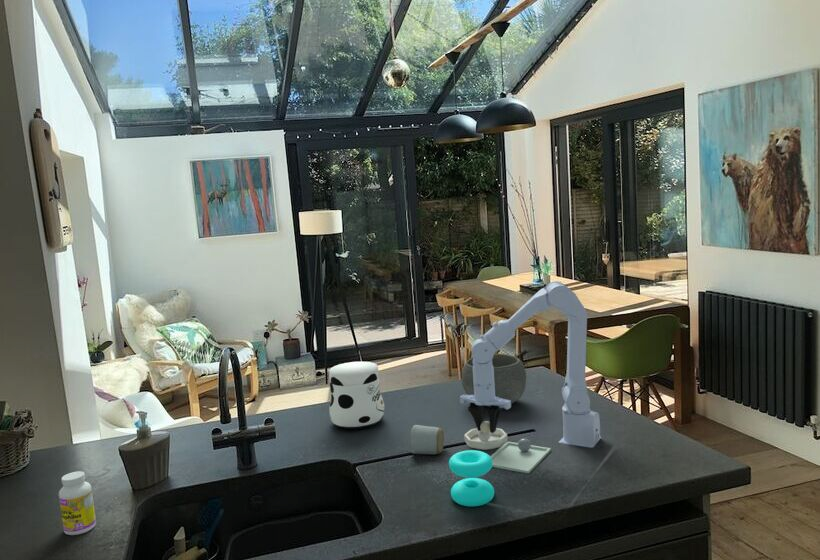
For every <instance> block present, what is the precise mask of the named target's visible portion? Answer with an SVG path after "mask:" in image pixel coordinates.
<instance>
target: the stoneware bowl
mask: <svg viewBox="0 0 820 560" xmlns="http://www.w3.org/2000/svg"><path fill="white" fill-rule="evenodd" d="M478 433H479V431H478V429H477V427H476V428H471V429H470V430H468V431H467V432H466V433H465V434H464V433H463V435H464V436H463V437H464V442H465V443H466V445H467V446H468V447H469V448H473V449H477V450H493V449H496V448H498V449H499V448H501V447H502V446H503V445H504V444H505V443H506V442H509V440H508V434H507V432H505V431H504V429H502V428H499V427H498V428H497V427H496V431H495V432H494V433H491V432H490V439H489V440H488V441H485V442H483V441H481V440H480V439H479V437H478Z"/></svg>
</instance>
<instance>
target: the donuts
mask: <svg viewBox="0 0 820 560" xmlns="http://www.w3.org/2000/svg"><path fill="white" fill-rule="evenodd" d="M490 456H491V455H489V454H488V453H486V452H484V451H481V450H474V449H470V450H469V449H468V450H463V451H459V452H456V453H454V454H453V455H452V456H451V457H450V458H449V459H448V467H449V469H450V471H451V472H452V473H453V474H455V475H457V476H459V477H461V478H462V477H463V478H462V479H461V480H458V481H456V482H455V483H454V484H453V485H452V487H451V488H450V496H451V498H452V500H453V501H454V502H455V503H457V504H458V505H460V506H465V507H480V506H484V505H486V504H488V503H489V502H491V501H492V499H494V497H495V488H494V486H493V485H492V484H491V483H490V482H489V481H487V480H486V479H482V478H479V477H482V476H485V475H486V474H487V473H489V472H490V471H491V469H492V468H493V467H492V465H493V461H492V458H491V457H490Z"/></svg>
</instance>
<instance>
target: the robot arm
mask: <svg viewBox="0 0 820 560" xmlns="http://www.w3.org/2000/svg"><path fill="white" fill-rule="evenodd" d="M550 306H551V308H552V309H555V310H557V311H559V312H562V313H563V315H565V316H566V317H567V344H566V345H567V347H566V350H567V351H566V353H567V354H566V374H565V377H564V384H563V386H562V388H561V393H560V395H561V397H562V399H563V400H564V404H563V405H562V407H561V409H562V428H563V431H562V432H563V437H562V438H561V439H560V440H559V441H558V443H560V444H566V445H573V446H580V447H585V448H590V449H591V448H594V447H595V446H596V445H597V443H598V442H599V441H600V439H602V437H601V420H600V418H601V417H600V414H599V413H598V412H597V411H593V410H591V408H590V407H591V398H590V395H589V394H588V385H587V379H586V367H587V366H586V362H587V361H586V358H587V333H588V332H587V330H588V328H587V326H588V313H587V312H588V311H587V310H586V308H585V307H584V305H583V303H582V302H581V301H580V299H579V297H578V296H577V294H576V293H575V292H574V291H572V289H571V288H570V287H568V286H567V285H565V284H564V283H563V282H561V281H558V280H557V281H556V280H555V281H551V282H549V283H548V284H546V286H545V287H543V288H541V289H539V290H538V291H537V292H535V293H534V295H533V296H531V297H530V299H529V300H527V301H526V302H525V303H524V304H523V305H522V306H520V308H519V309H518V310H516V312H515V313H514V314H512V316H510V318H509V319H505V320H504V319H501V320H499V321H498V322H497V321H494V322H493V323H492V327H491V328H490V329H488V330H487V332H486V333H484V334H481V335H479V338H477V339H475V340H474V341H473V342H472V345H471V346H470V347H471V348H470V350H471V356H472V357H471V358H473V383H474V395H467V394H462V395H460V397H459V401H460V402H459V403H460V404H469V406H468V408H467V409H468V412H469V413H470V414H471V416H472V418H473V420H474V423H475V426H476V428H477V429H478V431H481V429H480V425H481V423H482V422H483V421H484V406H485V407H489V408H488V409H486V412H487V415H488V418H489V419H488V421H489V422H490V432H491V433H494V432H495V431H496V428H497V425H498V421H499V419H500V418H499V417H500V415H501V413H502V411H503V409H505V410H509V409H511V408H512V404H511V400H506V399H502V398H499V397H495V383H494V367H493V365H492V358H493V356H494V354H495V353H496V352H498V351H499V350H501V349H502V348H503V347H504V346H505V345H507V344H508V343H509V342H510V341H511V340H512V339H513V338H515V336H516V329H518V328H519V327H520V326H521V325H523V324H524V323H525V322H527V321H528V320H530V318H532V317H534V315H536V314H537V313H538V312H544V311H551V308H550Z"/></svg>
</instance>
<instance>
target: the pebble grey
mask: <svg viewBox="0 0 820 560" xmlns="http://www.w3.org/2000/svg"><path fill="white" fill-rule="evenodd" d="M478 437H479V439H480V440H481V441H483V442H485V441H488V440H489V439H490V433H483V432H482V431H479V433H478Z"/></svg>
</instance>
